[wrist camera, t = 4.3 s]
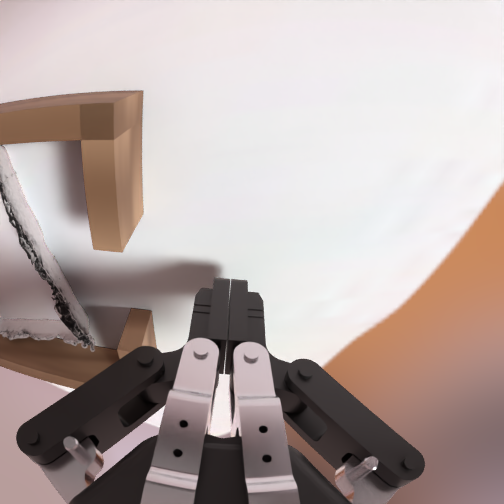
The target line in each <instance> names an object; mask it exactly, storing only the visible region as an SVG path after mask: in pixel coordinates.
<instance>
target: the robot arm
mask: <svg viewBox="0 0 504 504" xmlns="http://www.w3.org/2000/svg"><path fill="white" fill-rule="evenodd" d="M229 290H230V298H229ZM225 352H226V361H225ZM224 362H225V374H230V384H229V405H230V421H231V437H230V438H218V437H215V436H212V435H210V428H211V421H212V414H213V407H214V401H215V394H216V388H217V386H218V381H219V374H223V372H224ZM165 404H166V405H165ZM164 405H165V409H164V413H163V417H162V421H161V425H160V429H159V434H158V435H156V436H153V437H151V438H148V439H147V440H145V441H143V442H142V443H140V444H139V445H138V446H137V447H135V448H134V449H133V450H132V451H131V452H130V453H128V454H127V455H126V456H125V457H124V458H122V459H121V460H120V461H119V462H118V463H116V464H115V465H114V466H113V467H112V468H110V469H109V470H108V471H107V472H105V473H104V474H103V475H102V476H101V477H99V478H98V479H97V480H95V481H94V479H95V477H96V475H97V474H98V473H99V472H100V471H101V469H102V468H103V464H104V460H103V456H102V454H103V453H104V452H105V451H107V450H108V449H109V448H111V447H112V446H113V445H114V444H116V443H117V442H118V441H120V440H121V439H122V438H124V437H125V436H126V435H127V434H129V433H130V432H132V431H133V430H134V429H135V428H137V427H138V426H139V425H141V424H142V423H143V422H144V421H146V420H147V419H148V418H149V417H151V416H152V415H153V414H154V413H156V412H157V411H158V410H159V409H161V408H162V407H163V406H164ZM284 420H285V421H286V422H287V423H288V424H289V425H290V426H291V427H292V428H293V429H294V430H295V431H296V432H297V433H298V434H299V435H300V436H301V437H302V438H303V439H304V440H305V441H306V442H307V443H308V444H309V445H310V446H311V447H312V448H314V450H316V451H317V452H318V453H319V454H320V455H321V456H322V457H323V458H324V459H325V460H326V461H327V462H328V463H329V464H331V465H332V466H333V467H334V468H335V469H336V470H337V471H336V474H335V482H336V485H337V486H338V487H339V488H340V490H341V491H342V493H340V492H339V491H338V490H337V489H336V488H335V487H334V486H333V485H332V484H331V483H330V482H329V481H328V480H327V479H326V478H325V477H324V476H323V475H322V474H321V473H320V472H319V471H318V470H317V469H316V468H315V467H314V466H313V465H312V464H311V463H310V462H309V461H308V459H307V458H306V457H305V456H304V455H303V454H302V453H300V452H299V451H298V450H297V449H295V448H293V447H292V446H290V445H288V444H287V438H286V431H285V425H284ZM16 440H17V444H18V446H19V448H20V450H21V451H22V452H23V453H25V454H26V455H27V456H28V457H29V458H30V459H31V460H32V461H33V462H34V463H36V464H37V465H38V466H40V468H41V469H42V470H43V472H44V473H45V475H46V476H47V478H48V479H49V480H50V482H51V483H52V484H53V486H54V487H55V489H56V490H57V491H58V493H59V494H60V495H61V496H62V498H63V499H64V500H65V502H66V503H67V504H386V503H387V502H388V500H389V499H390V498H391V497H392V496H393V495H394V494H395V492H396V491H397V490H398V489H399V488H401V487H403V486H404V485H406V484H408V483H410V482H411V481H413V480H415V479H416V478H418V477H419V476H420V475H421V474H422V472H423V470H424V467H425V462H424V458H423V456H422V455H421V453H420V452H419V451H418V450H416V449H415V448H414V447H413V446H412V445H411V444H409V443H408V442H407V441H406V440H404V439H403V438H402V437H401V436H400V435H398V434H397V433H396V432H395V431H394V430H392V429H391V428H390V427H389V426H388V425H387V424H385V423H384V422H383V421H382V420H381V419H380V418H378V417H377V416H376V415H375V414H374V413H372V412H371V411H370V410H369V409H368V408H367V407H365V406H364V405H363V404H362V403H361V402H360V401H359V400H357V399H356V398H355V397H354V396H353V395H352V394H351V393H349V392H348V391H347V390H346V389H345V388H344V387H343V386H341V385H340V384H339V383H338V382H337V381H336V380H335V379H333V378H332V377H331V376H330V375H329V374H328V373H327V372H326V371H324V370H323V369H322V368H321V367H320V366H319V365H318V364H317V363H315V362H313V361H311V360H308V359H298V360H295V361H293V362H292V363H288V362H285V361H282V360H279V359H277V358H275V357H274V356H272V355H271V354H270V353H269V351H268V350H267V348H266V342H265V324H264V307H263V300H262V298H261V297H260V295H259V293H256V292H248V282H247V280H236V279H231V288H230V279H224V278H214V284H213V289H209V288H201V289H200V291H199V292H198V293H197V294H196V297H195V302H194V308H193V314H192V320H191V326H190V332H189V338H188V341H187V343H186V344H185V345H184V346H183V347H182V348H181V349H179V350H176V351H173V352H167V353H161V352H160V351H159V350H158V349H157V348H155V347H152V346H141V347H138V348H136V349H134V350H133V351H131V352H130V353H128V354H127V355H125V356H124V357H122V358H121V359H119V360H118V361H117V362H115V363H114V364H112V365H111V366H109V367H108V368H106V369H105V370H103V371H102V372H100V373H99V374H97V375H96V376H94V377H93V378H91V379H90V380H88V381H87V382H85V383H84V384H83V385H81V386H80V387H78V388H77V389H75V390H74V391H72V392H71V393H69V394H68V395H66V396H65V397H63V398H62V399H60V400H59V401H57V402H56V403H54V404H53V405H51V406H50V407H48V408H47V409H45V410H44V411H42V412H41V413H39V414H38V415H36V416H35V417H33V418H32V419H30V420H29V421H27V422H25V423H24V424H23V425H22V426H21V427H20V428H19V429H18V432H17V436H16Z"/></svg>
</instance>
